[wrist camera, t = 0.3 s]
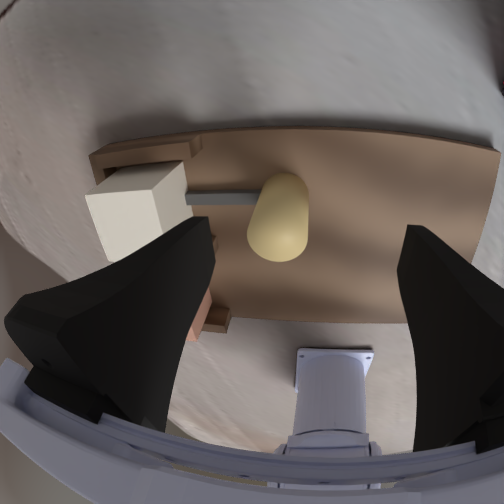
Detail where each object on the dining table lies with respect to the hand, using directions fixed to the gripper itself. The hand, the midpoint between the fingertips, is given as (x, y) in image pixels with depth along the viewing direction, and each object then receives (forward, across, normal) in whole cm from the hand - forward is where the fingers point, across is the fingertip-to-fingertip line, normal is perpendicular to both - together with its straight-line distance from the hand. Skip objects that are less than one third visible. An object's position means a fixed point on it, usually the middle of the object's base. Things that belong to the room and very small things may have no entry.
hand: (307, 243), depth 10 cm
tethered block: (+8, +6, +2) cm, 11 cm away
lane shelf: (+10, +1, +6) cm, 11 cm away
